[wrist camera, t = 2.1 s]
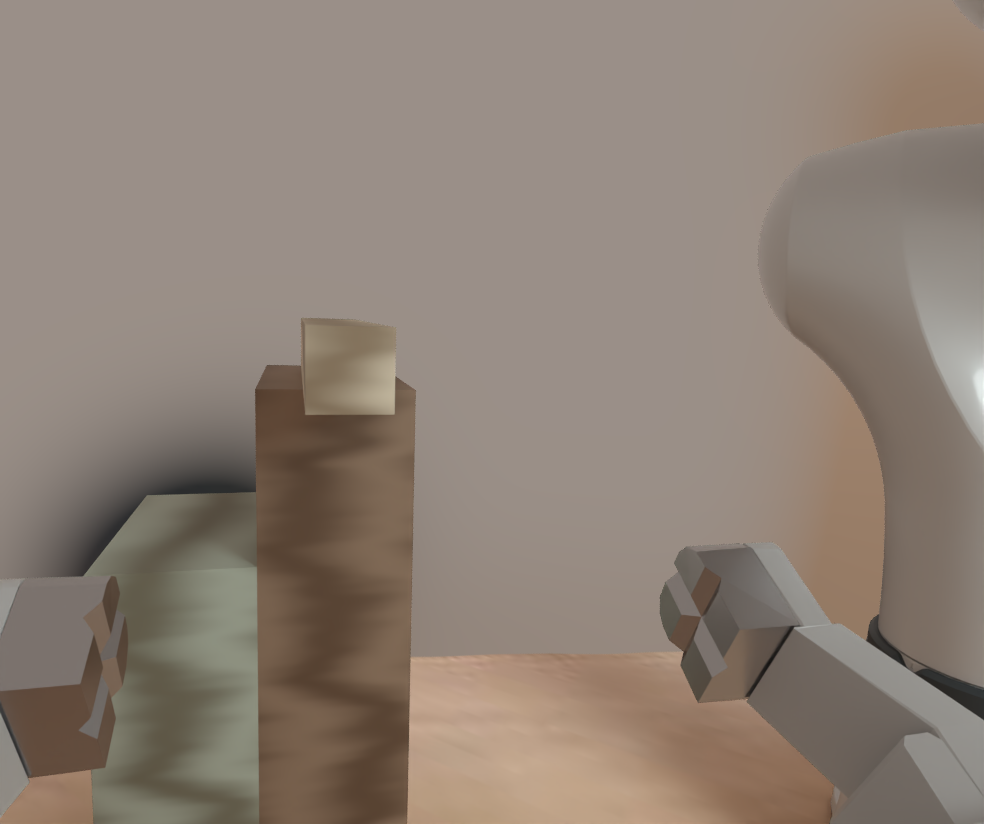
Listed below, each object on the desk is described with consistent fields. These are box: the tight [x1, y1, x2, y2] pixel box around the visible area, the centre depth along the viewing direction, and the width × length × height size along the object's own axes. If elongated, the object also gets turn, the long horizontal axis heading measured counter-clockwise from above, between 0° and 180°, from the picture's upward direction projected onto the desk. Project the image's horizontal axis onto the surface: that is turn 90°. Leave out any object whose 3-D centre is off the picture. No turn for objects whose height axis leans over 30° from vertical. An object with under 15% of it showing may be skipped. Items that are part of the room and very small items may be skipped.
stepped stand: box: [83, 365, 416, 824], centre depth 40 cm, size 14×14×26 cm
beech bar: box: [301, 318, 396, 415], centre depth 34 cm, size 3×18×3 cm, turn 15°
